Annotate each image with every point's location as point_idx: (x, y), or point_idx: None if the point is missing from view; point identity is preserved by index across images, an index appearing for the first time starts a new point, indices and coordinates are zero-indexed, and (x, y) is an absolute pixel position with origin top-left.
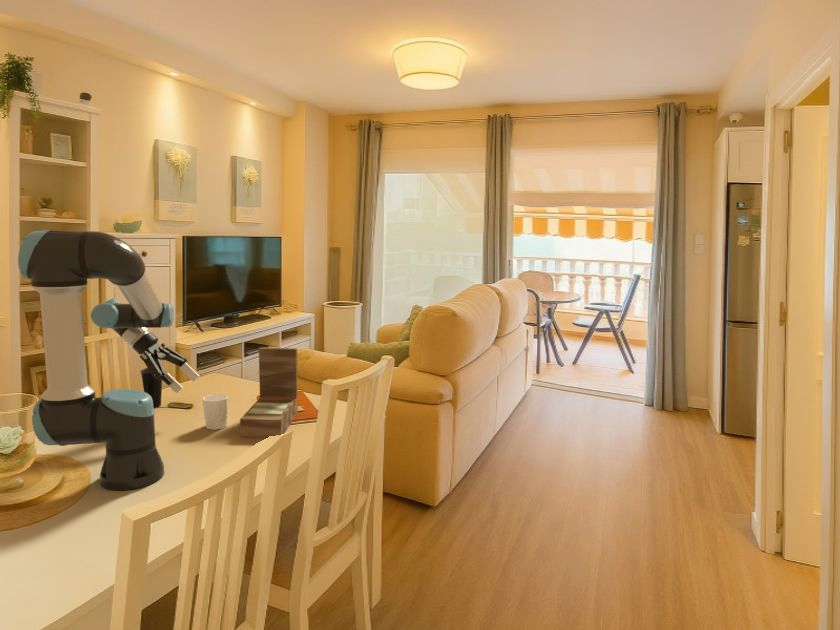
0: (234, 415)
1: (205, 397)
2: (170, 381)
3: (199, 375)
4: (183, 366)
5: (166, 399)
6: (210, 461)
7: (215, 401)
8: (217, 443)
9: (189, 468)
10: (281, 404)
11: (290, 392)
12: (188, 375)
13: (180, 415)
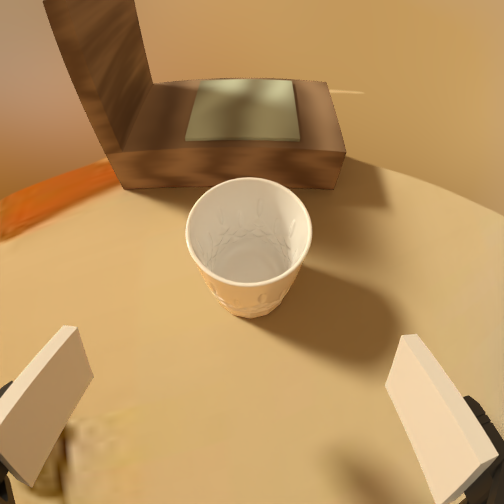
0: (139, 256)
1: (233, 282)
2: (476, 403)
3: (62, 326)
4: (16, 454)
5: None
6: (468, 219)
7: (305, 209)
8: (387, 233)
9: (500, 247)
10: (209, 89)
11: (145, 77)
12: (67, 411)
13: (134, 449)
